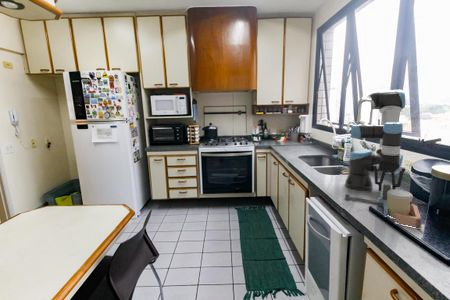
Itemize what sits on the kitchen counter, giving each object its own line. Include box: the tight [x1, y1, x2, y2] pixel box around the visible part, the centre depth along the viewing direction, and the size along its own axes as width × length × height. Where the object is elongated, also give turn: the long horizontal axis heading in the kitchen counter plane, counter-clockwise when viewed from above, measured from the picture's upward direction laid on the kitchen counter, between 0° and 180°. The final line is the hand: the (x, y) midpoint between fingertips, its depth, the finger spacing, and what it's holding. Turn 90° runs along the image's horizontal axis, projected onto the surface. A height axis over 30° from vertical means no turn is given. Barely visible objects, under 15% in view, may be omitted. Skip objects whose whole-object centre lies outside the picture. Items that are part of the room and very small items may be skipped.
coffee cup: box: [387, 188, 414, 218], centre depth 103 cm, size 9×9×12 cm
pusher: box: [377, 182, 392, 217], centre depth 110 cm, size 18×6×11 cm, turn 146°
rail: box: [344, 192, 384, 207], centre depth 119 cm, size 2×26×3 cm, turn 56°
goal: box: [394, 203, 422, 229], centre depth 102 cm, size 16×9×4 cm, turn 146°
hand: (385, 198), depth 116 cm, fingers closed on pusher, 3 cm apart
